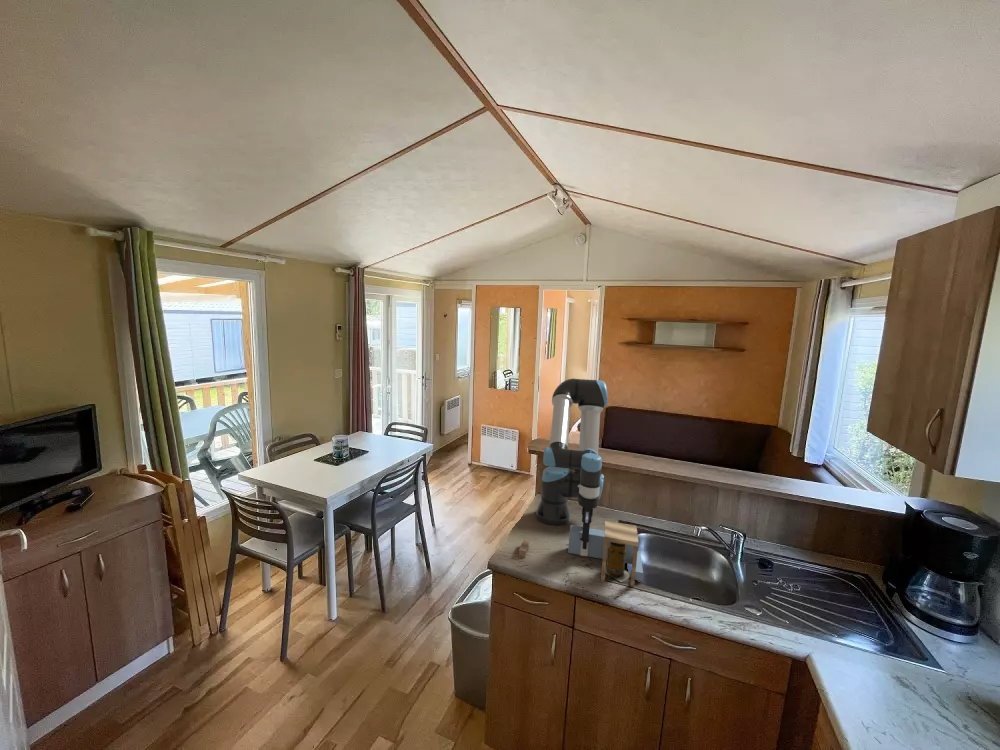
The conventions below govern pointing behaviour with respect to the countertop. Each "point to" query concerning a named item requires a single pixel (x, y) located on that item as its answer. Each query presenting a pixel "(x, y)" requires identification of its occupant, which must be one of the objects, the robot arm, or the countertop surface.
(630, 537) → the shelf
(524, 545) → the wooden block
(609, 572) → the condiment
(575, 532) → the crook
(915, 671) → the countertop surface
